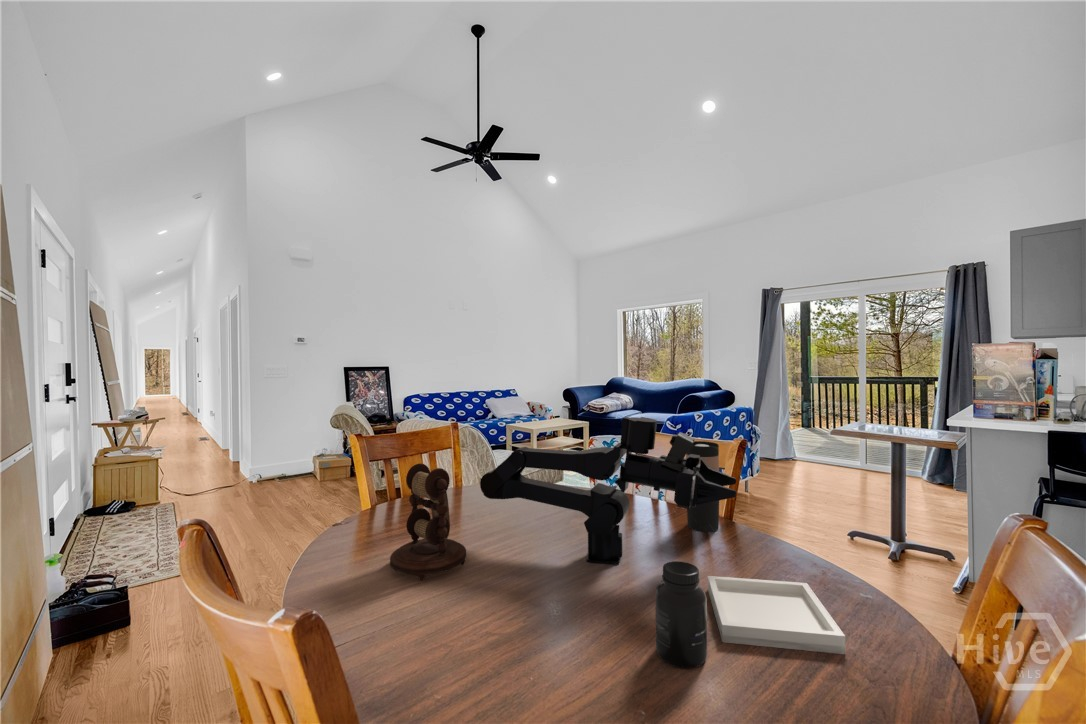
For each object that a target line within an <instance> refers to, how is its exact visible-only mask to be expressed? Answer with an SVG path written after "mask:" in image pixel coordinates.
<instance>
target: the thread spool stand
mask: <svg viewBox="0 0 1086 724" xmlns="http://www.w3.org/2000/svg"><path fill="white" fill-rule="evenodd" d="M450 481H451V480H450V474H449V473H448V471H447V470H446V469H444V468H442V467H437V468H434V469H432V470H430V468H429V466H427V465H426V464H425V463H415V464H414V465H412V466H411V467H410V468H409V469H408V471H407V473H406V478H405V482H406V483H405V484H406V486H407V488H408V489H409V490H410V493H411V494H410V496H409V497H408V501H409V503H410V505H411V507H412V509H411V511H410V512H411V513H410V514H409V516H408V517H407V520H406V524H405V525H406V531H407V533H408V534H409V535H410V537H411V538H410V539H411V541H410V542H408V543H405V544H403V545H401V546H400V547H399V548H397V549H395V550H394V551H393V552H392V553H391V554H390V557H389V565H390V567H391V569H392V570H394V571H395V572H397V573H400V574H404V575H411V576H418V579H419V581H420V582H423V581H424V579H425V576H426V575H434V574H439V573H444V572H448V571H449V570H452V569H454V568H456V567H458V566H460V565H461V566H464V565H465V562H466V559H467V549H466V547H465V545H463V544H462V543H460V542H458V541H457V540H454V539H451V538H450V539H449V536H450V530H451V520H450V519H451V517H450V507H449V505H450V504H449V498H448V493H447V491H448V489H449V487H450ZM418 506H423V507H424V508H418ZM427 509H430V510H431V514H430V512H429V511H428V510H427ZM431 515H432V518H431ZM419 538H421V539H419Z"/></svg>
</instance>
